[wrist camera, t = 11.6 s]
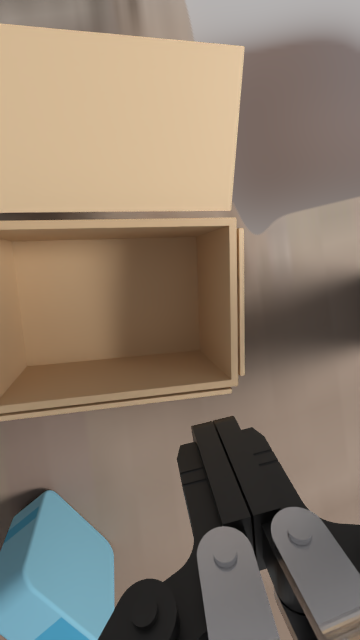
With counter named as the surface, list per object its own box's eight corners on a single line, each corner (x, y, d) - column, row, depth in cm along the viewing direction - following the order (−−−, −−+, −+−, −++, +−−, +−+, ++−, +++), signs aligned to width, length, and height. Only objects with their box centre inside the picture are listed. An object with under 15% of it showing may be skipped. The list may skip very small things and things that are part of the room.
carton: (206, 231, 37) (244, 217, 26) (209, 358, 40) (245, 392, 29) (-2, 236, 33) (-55, 221, 22) (16, 377, 35) (-24, 425, 25)
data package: (15, 509, 38) (-27, 617, 26) (47, 483, 38) (19, 578, 26) (85, 570, 41) (75, 692, 29) (114, 546, 41) (116, 656, 29)
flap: (228, 209, 26) (241, 48, 21) (230, 210, 25) (244, 46, 21) (-35, 211, 22) (-84, 19, 18) (-38, 212, 22) (-88, 15, 17)
